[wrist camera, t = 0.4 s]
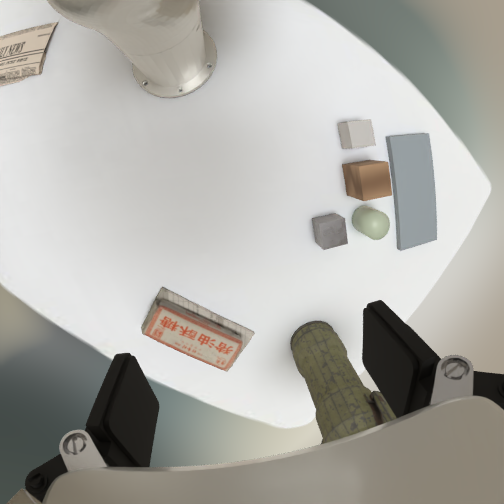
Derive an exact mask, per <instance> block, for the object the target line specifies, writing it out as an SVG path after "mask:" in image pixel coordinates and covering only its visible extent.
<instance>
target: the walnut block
mask: <svg viewBox="0 0 504 504" xmlns="http://www.w3.org/2000/svg"><path fill="white" fill-rule="evenodd" d="M342 167H343V173H344V179H345V185H346V192H347V195H348V196H351V197H354V198H356V199H359V200H362V201H367V200H371V199H376V198H381V197H386V196H391V195H392V190H391V181H390V173H389V166H388V162H385V161H374V160H367V161H360V162H354V163H348V164H342Z"/></svg>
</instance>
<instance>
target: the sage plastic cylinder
mask: <svg viewBox="0 0 504 504" xmlns="http://www.w3.org/2000/svg"><path fill="white" fill-rule="evenodd" d="M352 223H353V226H354V228H355V229H356V230H358V231H360V232H361V233H363V234H365V235H366V236H368V237H369V238H371V239H373V240H379V239H382V238H383V237H384V236H385V235H386V234H387V232H388V230H389V227H390V222H389V218H388V216H387V215H386V214H385V213H383V212H380V211H378V210H376V209H373V208H371V207H368V206H361V207H359V208H357V209H356V210H355V212H354V213H353V216H352Z"/></svg>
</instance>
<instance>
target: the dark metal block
mask: <svg viewBox="0 0 504 504" xmlns="http://www.w3.org/2000/svg"><path fill="white" fill-rule="evenodd" d="M312 222H313V229H314V235H315V241H316V243H317V244H318V245H319V246H320V247H321V248H322V249H323V250H325V249H329V248H333V247H337V246H341V245H344V244H348V241H347V233H346V225H345V218H343V217H341V216H339V215H337V214H336V213H334V214H330V215H325V216H321V217H316V218H312Z"/></svg>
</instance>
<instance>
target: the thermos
mask: <svg viewBox="0 0 504 504" xmlns="http://www.w3.org/2000/svg"><path fill="white" fill-rule="evenodd" d="M290 344H291V349H292V351H293V357H294V360H295V363H296V366H297V368H298V371H299V373H300V374H301V375H302V376H303V377H304V378H305V381H306V383H307V386H308V389H309V392H310V394H311V397H312V400H313V402H314V405H315V408H316V420H317V423H318V426H319V428H320V431H321V434H322V437H323V440H322V443H321V444H324V443H327V442H331V441H334V440H338V439H341V438H344V437H347V436H350V435H353V434H356V433H359V432H362V431H365V430H368V429H370V428H373V427H376V426H379V425H381V424H384V423H387V422H389V421H392V420H394V419H397V418H396V416H395V414H394V413H393V411H392V410H391V408H390V406H389V405H388V403H387V402H386V400H385V398H384V397H383V395H382V393H381V392H378V391H373V392H371V391H370V390H369V389H368V388H366V387H364V386H363V384H362V382H361V380H360V378H359V376H358V375H357V373H356V371H355V370H354V368H353V366H352V365H351V363H350V361H349V359H348V358H347V350H346V348H345V346H344V345H343V343H342V341H341V340H340V338H339V337H338V335H337V333H335V332H334V330H333V329H332V327H331V326H330V325H329V324H328V323H325V322H322V321H313V322H309V323H306V324H304V325H303V326H301V327H300V328H298V329H297V330H296V331H295V333H294V334H293V336H292V338H291V343H290Z"/></svg>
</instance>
